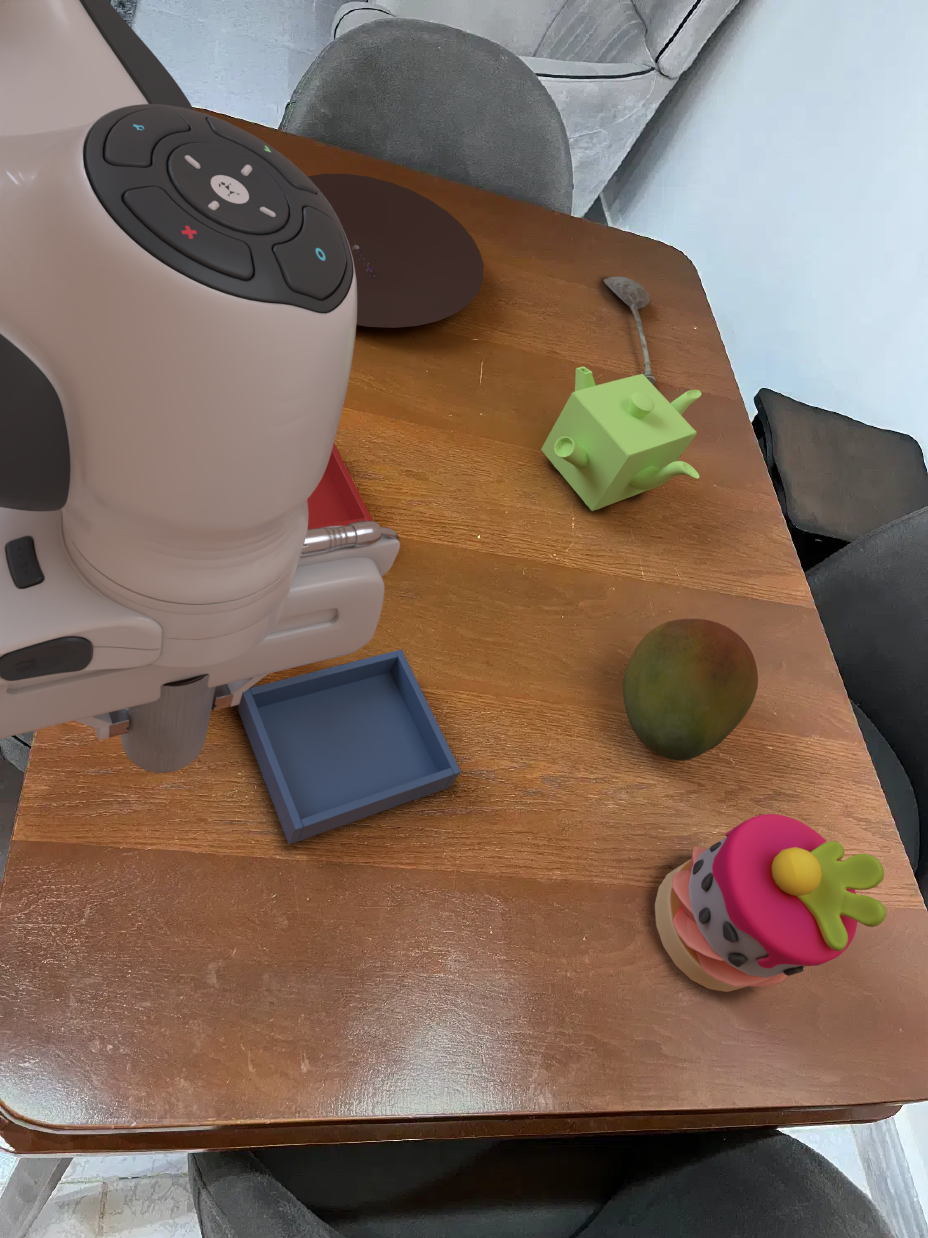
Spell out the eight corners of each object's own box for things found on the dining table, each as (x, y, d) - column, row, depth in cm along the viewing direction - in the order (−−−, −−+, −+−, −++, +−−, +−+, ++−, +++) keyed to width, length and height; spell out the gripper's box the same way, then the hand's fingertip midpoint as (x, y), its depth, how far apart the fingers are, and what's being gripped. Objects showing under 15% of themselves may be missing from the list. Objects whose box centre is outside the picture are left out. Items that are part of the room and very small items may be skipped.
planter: (191, 693, 50) (206, 595, 42) (215, 760, 48) (235, 672, 40) (111, 713, 47) (110, 614, 39) (133, 785, 46) (136, 696, 38)
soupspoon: (638, 292, 118) (595, 282, 117) (648, 270, 116) (604, 260, 114) (668, 392, 105) (620, 382, 104) (681, 370, 103) (632, 359, 101)
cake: (667, 1000, 61) (795, 951, 50) (638, 857, 67) (745, 784, 56) (785, 994, 65) (931, 947, 53) (747, 859, 70) (871, 789, 59)
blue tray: (288, 845, 59) (295, 830, 56) (237, 708, 63) (241, 689, 61) (449, 787, 65) (461, 771, 63) (392, 667, 70) (401, 648, 67)
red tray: (199, 572, 69) (201, 550, 67) (153, 454, 74) (154, 430, 72) (366, 542, 76) (374, 521, 74) (314, 437, 82) (320, 414, 79)
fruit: (717, 678, 81) (780, 622, 73) (721, 796, 73) (792, 747, 65) (608, 641, 79) (660, 579, 71) (599, 757, 71) (657, 702, 64)
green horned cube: (656, 455, 97) (708, 381, 89) (658, 545, 89) (716, 473, 80) (536, 412, 95) (578, 332, 86) (527, 501, 86) (572, 422, 77)
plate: (210, 186, 99) (213, 156, 96) (418, 195, 113) (425, 169, 110) (293, 349, 88) (299, 320, 85) (512, 337, 101) (523, 312, 99)
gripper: (383, 468, 40) (325, 622, 51) (-124, 530, 30) (-64, 707, 41) (437, 572, 38) (364, 711, 49) (-94, 679, 28) (-39, 825, 38)
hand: (166, 710), depth 45 cm, fingers closed on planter, 4 cm apart
